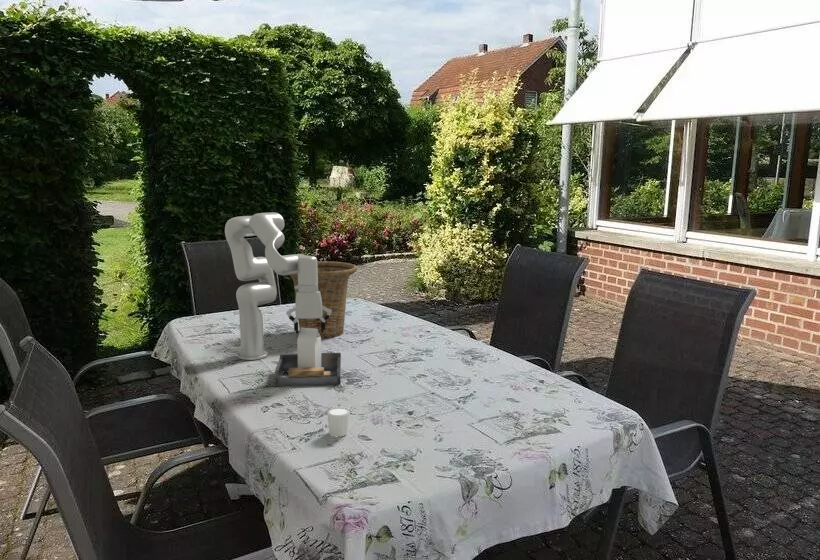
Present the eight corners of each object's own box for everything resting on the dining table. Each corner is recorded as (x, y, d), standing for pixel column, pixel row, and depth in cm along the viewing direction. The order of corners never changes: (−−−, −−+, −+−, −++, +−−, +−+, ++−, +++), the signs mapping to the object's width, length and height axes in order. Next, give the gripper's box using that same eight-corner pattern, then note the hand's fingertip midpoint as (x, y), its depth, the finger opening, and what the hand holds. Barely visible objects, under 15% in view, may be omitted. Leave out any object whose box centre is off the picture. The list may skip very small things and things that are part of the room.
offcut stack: (286, 385, 233) (286, 371, 232) (288, 381, 238) (287, 367, 237) (330, 384, 235) (329, 370, 234) (330, 380, 239) (330, 366, 238)
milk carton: (315, 379, 240) (314, 331, 236) (298, 377, 241) (296, 330, 238) (321, 373, 246) (320, 326, 243) (304, 371, 248) (303, 325, 245)
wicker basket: (371, 330, 312) (371, 265, 307) (326, 346, 283) (325, 274, 278) (318, 321, 331) (316, 259, 325) (270, 335, 302) (268, 267, 296)
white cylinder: (328, 428, 194) (327, 407, 192) (350, 428, 194) (350, 407, 193) (327, 438, 187) (326, 416, 186) (349, 437, 187) (349, 415, 186)
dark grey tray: (275, 386, 231) (274, 368, 230) (280, 370, 249) (280, 353, 248) (340, 384, 234) (340, 366, 232) (340, 369, 251) (340, 352, 250)
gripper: (284, 290, 233) (286, 335, 236) (330, 289, 235) (332, 333, 237) (286, 287, 240) (288, 330, 243) (331, 286, 242) (332, 329, 245)
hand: (309, 332), depth 240 cm, fingers open, 9 cm apart
